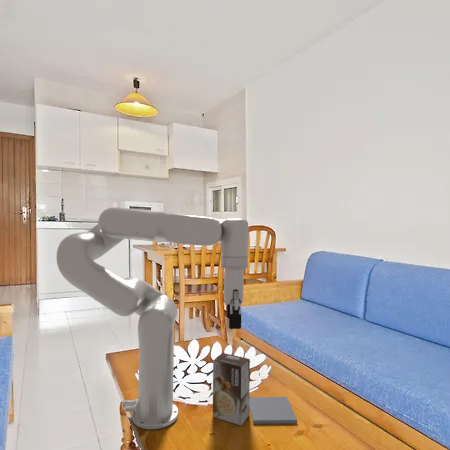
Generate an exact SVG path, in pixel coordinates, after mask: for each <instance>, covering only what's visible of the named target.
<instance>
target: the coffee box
mask: <svg viewBox="0 0 450 450" xmlns="http://www.w3.org/2000/svg"><path fill="white" fill-rule="evenodd" d="M250 362H251V361H250V358H247V357H242V356H238V355H234V354H229V353H225V352H222V353H221V354H219V355H218V356H216V358H215V359H213V361H212V418H216V419H218V420H222V421H226V422H228V423H232V424H234V425H238V426H242V425H243V424H244V423H245V422H246V421H247V419H248V418H249V417H250V406H249V397H250V373H251V372H250V367H251V365H250V364H251V363H250Z"/></svg>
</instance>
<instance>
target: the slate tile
mask: <svg viewBox="0 0 450 450" xmlns="http://www.w3.org/2000/svg"><path fill="white" fill-rule="evenodd" d="M249 412H250V416H251V419H252V423H253V425H265V424H266V425H270V424H271V425H273V424H274V425H279V424H280V425H281V424H282V425H284V424H286V425H287V424H298V419H297V416H296V414H295V412H294V410H293V407H292V404H291V403H290V400H289V399H288V396H249Z"/></svg>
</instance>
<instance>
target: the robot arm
mask: <svg viewBox="0 0 450 450" xmlns="http://www.w3.org/2000/svg"><path fill="white" fill-rule="evenodd" d="M123 240H133V241H134V240H135V241H146V242H156V243H172V244H181V245H182V244H183V245H192V246H203V247H204V246H205V247H209V246H213V245H215V244H217V243H221V251H220V252H221V253H220V254H221V256H220V258H221V260H220V263H221V264H220V268H221V269H224V273H223V275H224V276H223V302H224V304H225V306H226V318H227V319H229V320H228V329H230V330H241V329H242V308H241V306H242V305H243V304H244V283H245V280H244V279H245V276H244V275H245V270H247V269H248V268H249V222H248V220H246V218H245V219H244V218H225V219H220V218H219V219H218V218H215V217H214V218H213V217H210V216H197V215H185V214H175V213H168V212H165V211H162V210H160V211H158V210H148V209H137V208H130V207H129V208H128V207H113V206H112V207H108V208H106V209H105V210H103V211H102V212H101V213H100V215H99V217H98V222H97V224H96V225H95V226H93V227H92V228H90V230H88V231H85V232H84V231H83V232H76V233H72V234H69V235H67V236H66V237H64V238H63V239H62V240H61V241H60V242H59V244H58V247H57V251H56V265H57V267H58V270H59V272H60V273H61V276H62V277H63V278H64V279H65V280H66V281H67V282H68V283H69V284H70V285H72V286H73V287H75V288H77V289H78V290H79V291H81V292H82V293H85V295H88V296H89V297H90V298H92V299H93V300H94V301H95V302H97V303H99V304H101V306H102V305H103V306H104V307H105V308H106V309H108V310H110V311H111V312H113V313H114V314H116V315H117V316H120V317H129V316H131V315H133V314H134V313H135V314H136V315H138V316H139V319H138V321H137V338H138V339H137V340H138V386H137V387H138V391H137V392H138V393H137V394H138V395H137V396H138V398H135V399H133V400H132V399H131V400H130V399H123V401H122V405H121V406H122V408H123V409H124V412H125V413H129V412H132V415H131V418H132V419H131V421H132V422H133V424H134V425H135V426H136V427H138V428H140V429H144V430H159V429H164V428H166V427H168V426H170V425H172V424H173V423H175V422H176V420H177V419H178V417H179V408H178V407H177V405H176V404H174V367H175V366H174V364H175V361H174V357H175V354H174V353H175V352H174V351H175V349H174V348H175V346H174V345H175V344H174V342H175V341H174V340H175V339H174V338H175V336H174V335H175V334H174V332H175V331H174V330H175V324H176V319H177V315H178V307H177V305H176V303H175V301H174V300H173V299H172V298H171V297H169V296H168V295H166V294H165V293H163V292H162V291H161V290H159V289H157V288H156V287H154V286H153V285H152V284H150V283H148V282H146V281H145V280H143V279H140V278H139V277H134V276H130V277H129V276H128V277H125V278H123V277H121V276H119V275H118V274H116V273H114V272H113V271H111V270H110V269H109V268H107V267H104V266H103V265H100V264H99V263H97V262H96V261H95V260H97V259H99V258H101V257H103V256H104V255H105V254H107V253H108V252H109V251H111V249H113V248H114V247H116V246H117V245H118V244H120V243H121V242H122V241H123Z"/></svg>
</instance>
